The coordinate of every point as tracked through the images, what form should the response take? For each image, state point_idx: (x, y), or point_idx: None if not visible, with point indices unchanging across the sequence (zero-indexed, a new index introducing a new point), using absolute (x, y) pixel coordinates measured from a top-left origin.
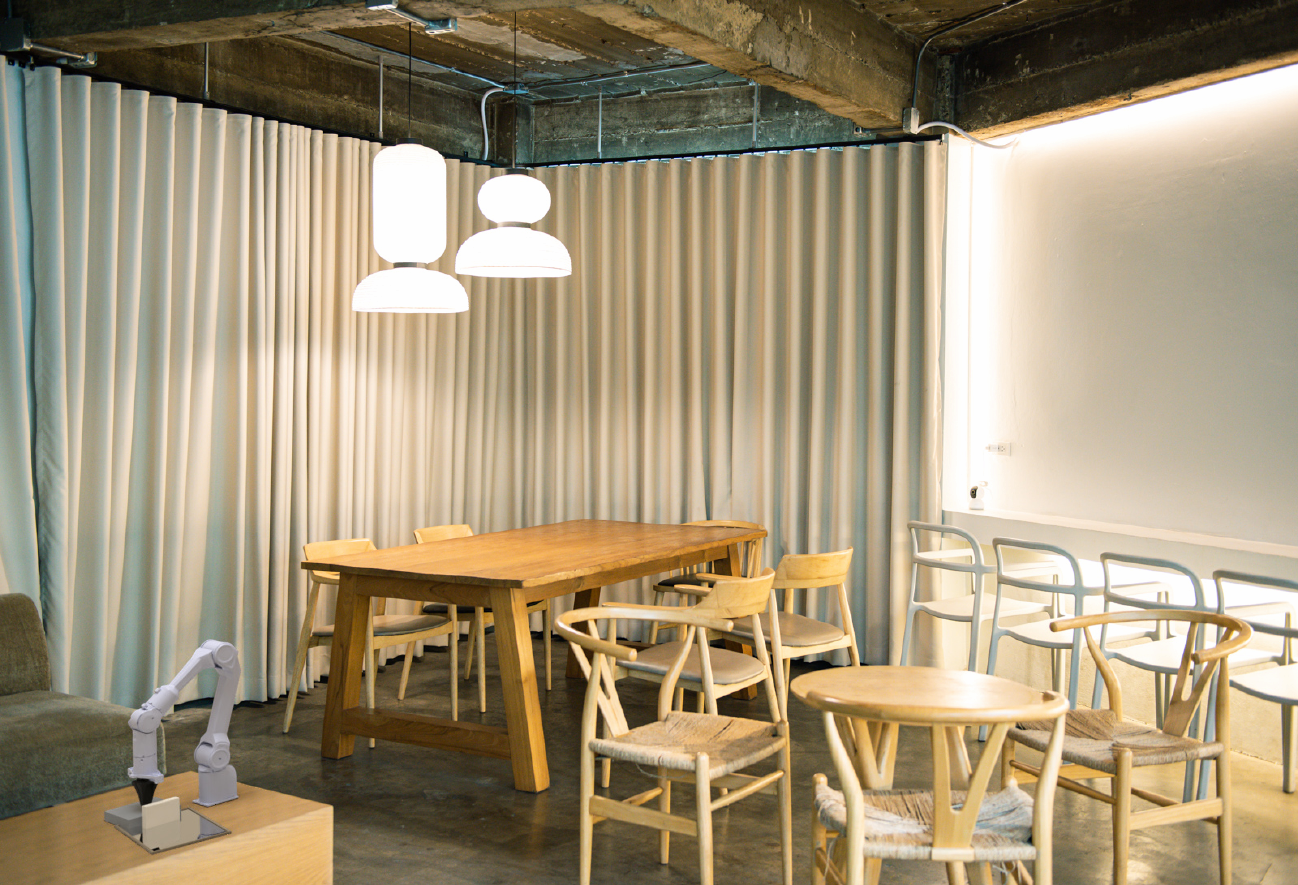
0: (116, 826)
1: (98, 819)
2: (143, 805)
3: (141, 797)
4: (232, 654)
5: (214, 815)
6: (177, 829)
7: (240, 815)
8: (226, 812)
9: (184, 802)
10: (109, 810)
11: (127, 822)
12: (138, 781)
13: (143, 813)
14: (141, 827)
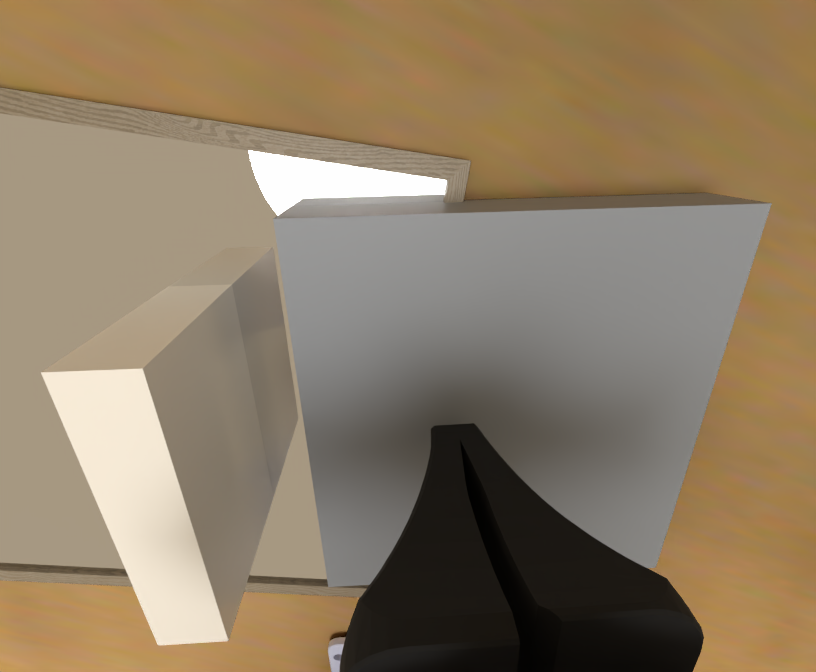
0: (428, 160)
1: (787, 180)
2: (433, 436)
3: (445, 480)
4: None
5: None
6: None
7: (61, 665)
8: (168, 650)
9: None
10: (738, 246)
11: (306, 212)
12: (568, 669)
13: (153, 333)
14: (243, 282)
